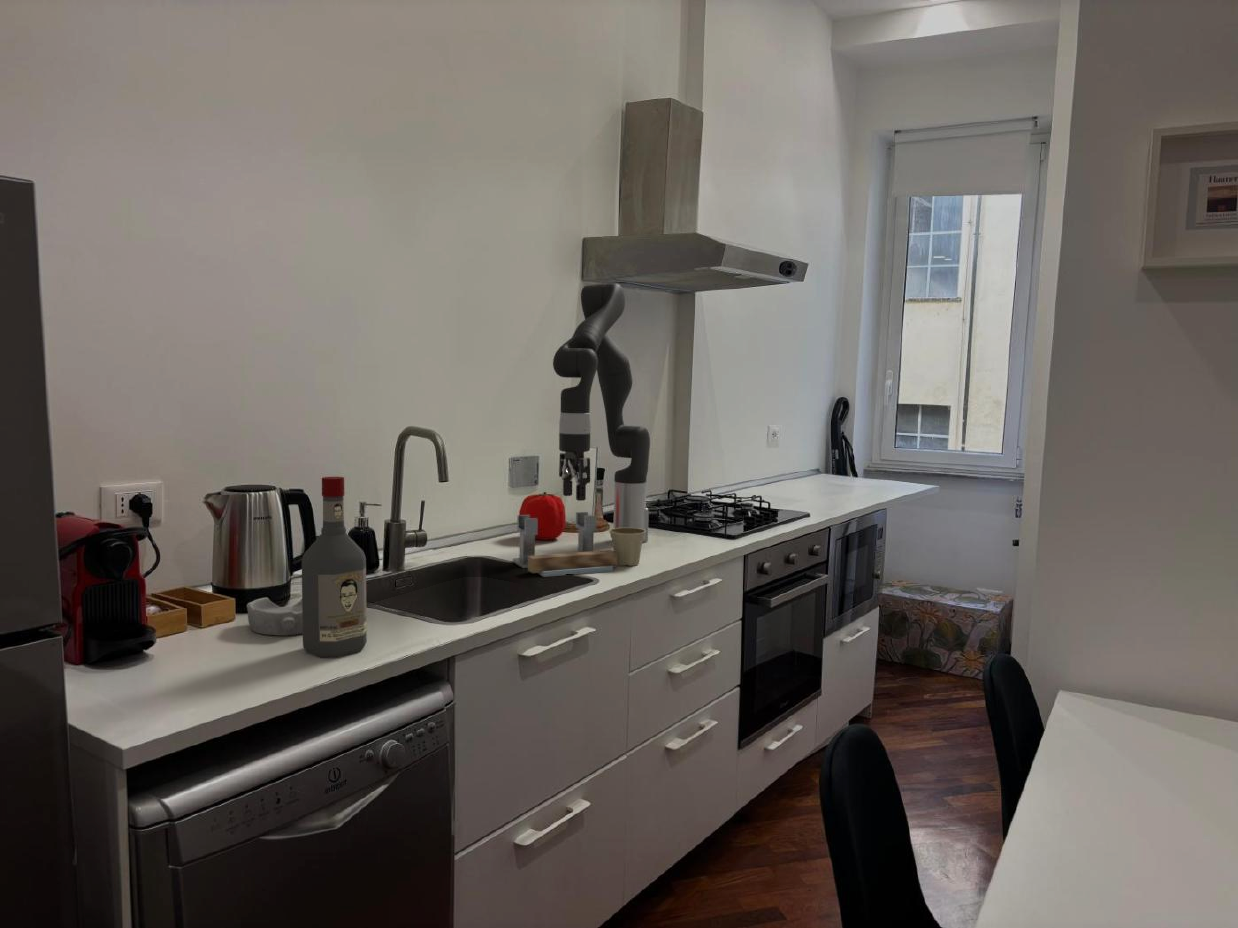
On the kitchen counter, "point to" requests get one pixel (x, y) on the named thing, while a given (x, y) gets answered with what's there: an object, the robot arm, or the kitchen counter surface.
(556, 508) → the tomato
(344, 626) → the liquor
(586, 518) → the rack
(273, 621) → the dish
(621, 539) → the flower pot
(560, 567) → the rail
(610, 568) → the mat
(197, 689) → the kitchen counter surface
